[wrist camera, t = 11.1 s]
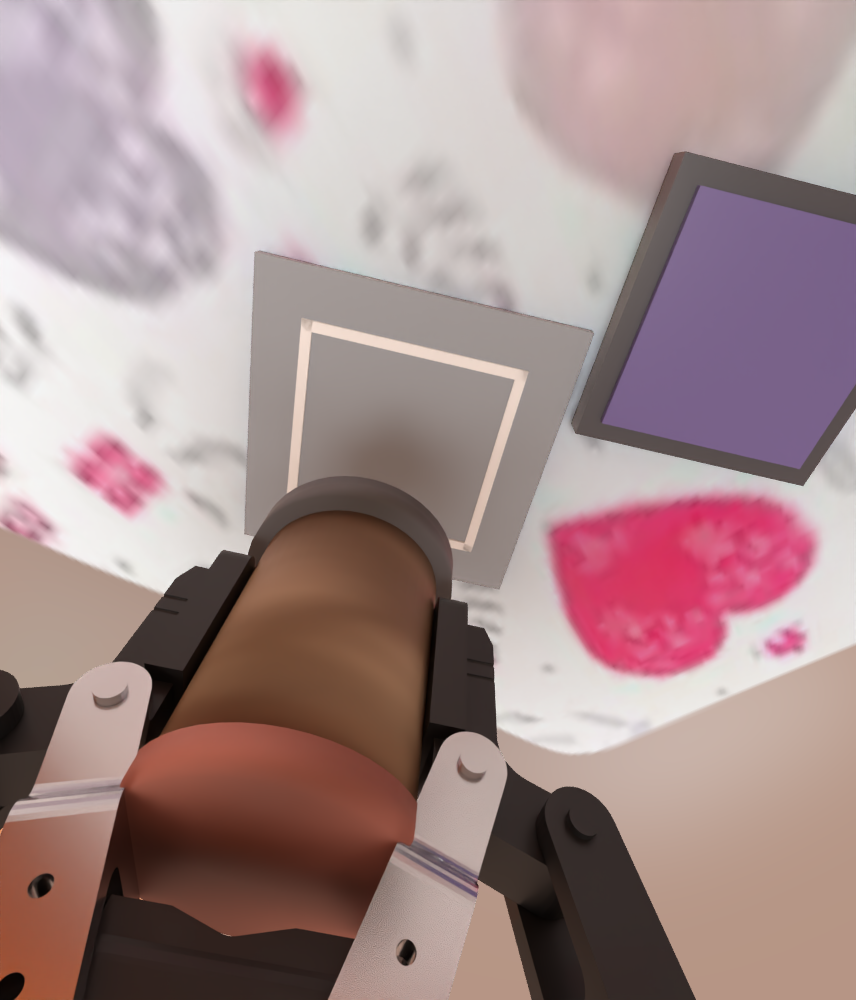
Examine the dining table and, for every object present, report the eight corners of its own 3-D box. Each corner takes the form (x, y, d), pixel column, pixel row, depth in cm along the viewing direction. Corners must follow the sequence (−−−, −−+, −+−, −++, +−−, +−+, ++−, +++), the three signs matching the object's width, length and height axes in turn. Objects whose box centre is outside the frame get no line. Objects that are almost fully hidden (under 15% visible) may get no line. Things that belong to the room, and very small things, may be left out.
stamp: (475, 502, 13) (477, 815, 7) (429, 647, 16) (399, 972, 10) (265, 455, 13) (52, 730, 7) (255, 611, 16) (99, 917, 9)
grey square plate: (591, 330, 19) (594, 334, 18) (498, 583, 25) (499, 590, 25) (258, 250, 18) (253, 252, 18) (247, 529, 24) (243, 535, 24)
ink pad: (952, 224, 16) (985, 226, 15) (789, 473, 21) (806, 489, 20) (674, 153, 16) (688, 151, 15) (571, 423, 21) (576, 435, 20)
